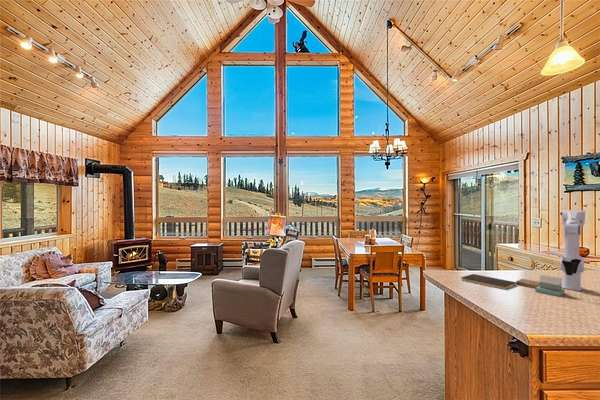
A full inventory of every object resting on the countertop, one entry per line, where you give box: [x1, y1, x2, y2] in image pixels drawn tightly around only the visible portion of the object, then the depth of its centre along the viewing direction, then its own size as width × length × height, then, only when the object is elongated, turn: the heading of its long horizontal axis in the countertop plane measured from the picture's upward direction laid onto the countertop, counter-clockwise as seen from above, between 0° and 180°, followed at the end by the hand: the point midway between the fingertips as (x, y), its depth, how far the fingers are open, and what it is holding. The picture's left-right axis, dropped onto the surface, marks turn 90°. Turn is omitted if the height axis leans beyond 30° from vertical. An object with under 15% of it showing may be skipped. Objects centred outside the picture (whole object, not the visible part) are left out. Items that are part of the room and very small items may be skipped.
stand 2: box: [534, 286, 566, 297], centre depth 165 cm, size 10×10×2 cm
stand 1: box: [515, 278, 540, 289], centre depth 179 cm, size 10×10×2 cm
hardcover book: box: [460, 273, 517, 290], centre depth 183 cm, size 16×23×2 cm
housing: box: [539, 274, 563, 291], centre depth 165 cm, size 8×4×6 cm, turn 39°
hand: (571, 274), depth 162 cm, fingers open, 7 cm apart
